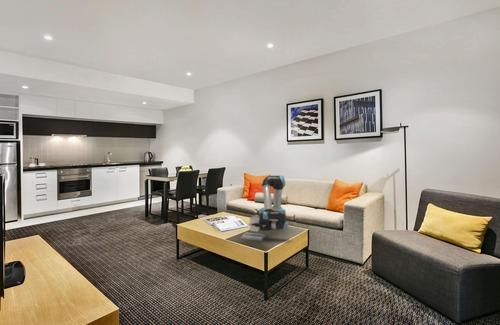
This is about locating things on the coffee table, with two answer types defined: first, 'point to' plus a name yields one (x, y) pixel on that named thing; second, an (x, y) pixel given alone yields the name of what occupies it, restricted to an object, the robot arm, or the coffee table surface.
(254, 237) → the mounting board
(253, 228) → the module
